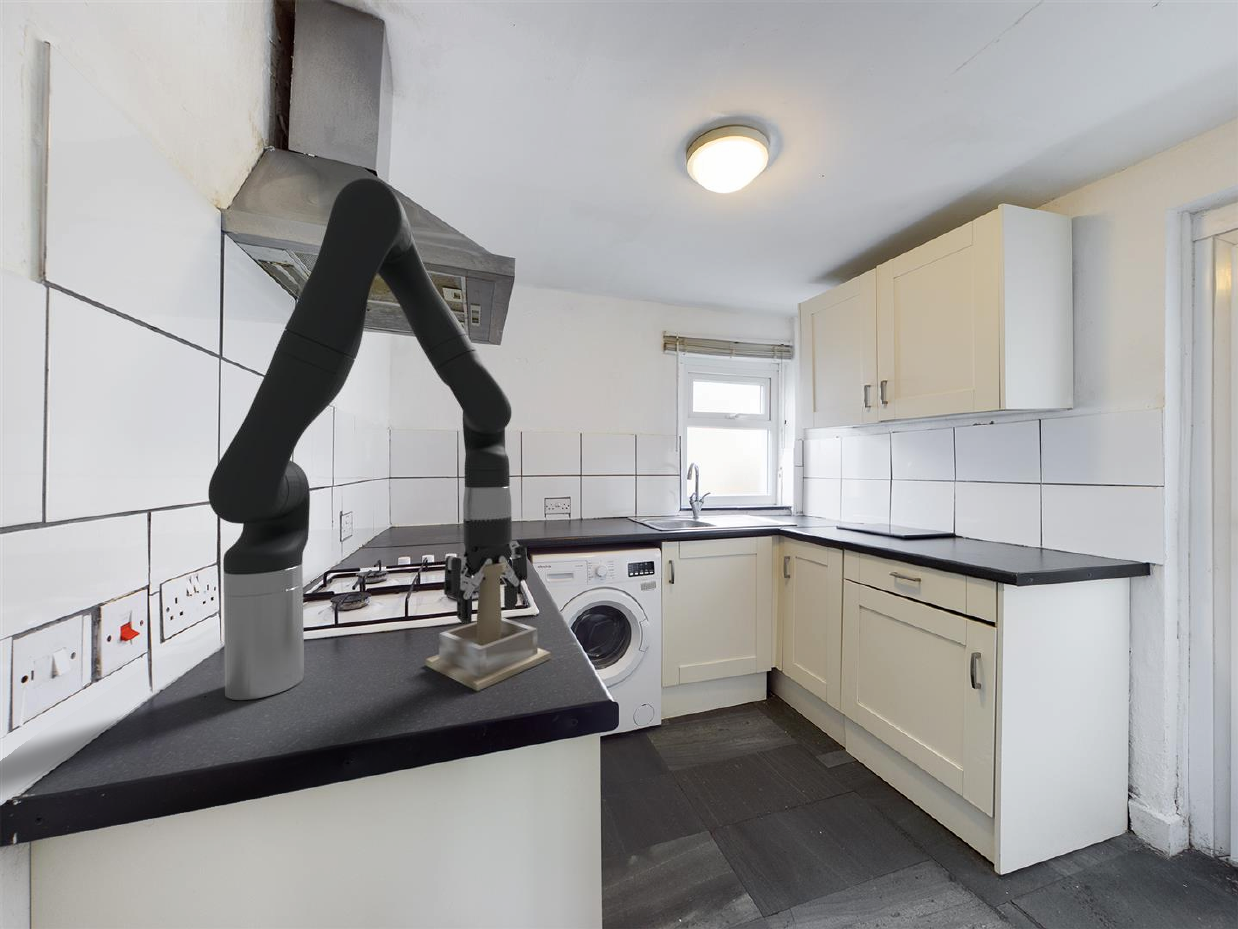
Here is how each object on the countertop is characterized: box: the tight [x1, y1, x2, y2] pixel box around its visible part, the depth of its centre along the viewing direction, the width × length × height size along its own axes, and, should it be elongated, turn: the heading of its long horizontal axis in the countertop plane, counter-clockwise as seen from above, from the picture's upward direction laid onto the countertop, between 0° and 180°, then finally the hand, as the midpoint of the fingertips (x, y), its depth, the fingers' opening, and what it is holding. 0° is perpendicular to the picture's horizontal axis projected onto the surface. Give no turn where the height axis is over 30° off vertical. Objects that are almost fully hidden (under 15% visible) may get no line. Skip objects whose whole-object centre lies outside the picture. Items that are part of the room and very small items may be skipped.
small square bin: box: [425, 617, 552, 692], centre depth 77 cm, size 14×14×5 cm
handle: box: [476, 563, 506, 646], centre depth 77 cm, size 5×6×15 cm
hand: (488, 615), depth 77 cm, fingers open, 8 cm apart
